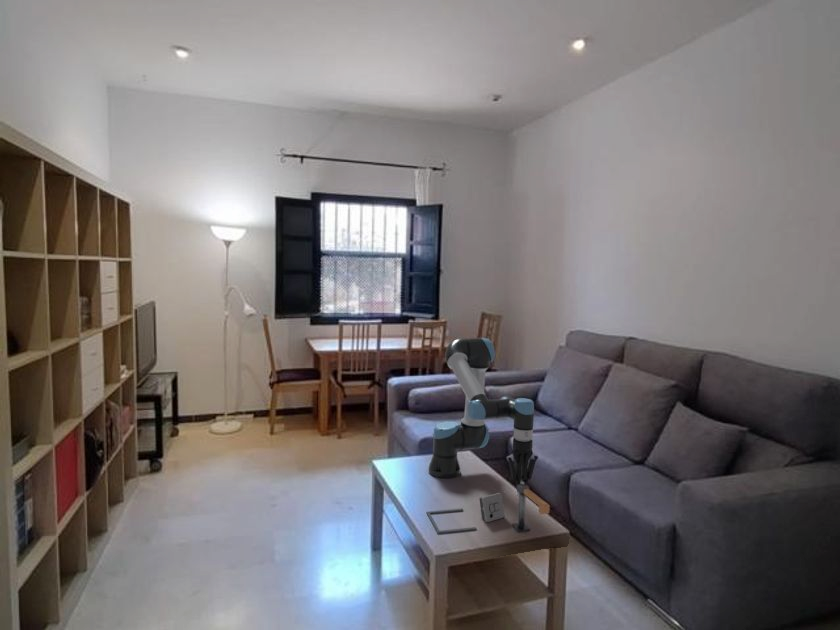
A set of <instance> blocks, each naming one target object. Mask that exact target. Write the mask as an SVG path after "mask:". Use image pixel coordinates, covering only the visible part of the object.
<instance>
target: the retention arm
mask: <svg viewBox="0 0 840 630" xmlns="http://www.w3.org/2000/svg"><path fill="white" fill-rule="evenodd" d="M516 492H519V493H522V494H525V495H526V498H529V500H531V501H532V502H534V503H535V504H536V505H537V506H538V513H539V514H540V515H546V514H550V507H551V506H550V504H549V503H547V502H546V501H545V500H544V499H542V498H541V497H540V496H538V495H537V494H536V493H534V492H533V491H532V490H531V489H530V486H529V485H527V484H526V485H525V484H518V485H517V489H516Z"/></svg>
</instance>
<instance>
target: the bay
mask: <svg viewBox="0 0 840 630" xmlns="http://www.w3.org/2000/svg"><path fill="white" fill-rule="evenodd" d="M455 512H457V513H458V512H464V509H463V508H454V509H453V508H452V509H443V510H442V509H441V510H433V511H431V510H430V511H426V512H425V513H426V515H427V517H428V519H429V521H430V522H432V523H431V524H432V526H433V528H434V530H435V531H436V533H437V535H440V534H441V535H442V534H450V533H451V534H452V533H461V532H471V531H478V530H477V527H476V526H475V527H474V526H473V527H465V528H464V527H463V528H454V529H443V530H440V529H439V526H437V524H436V522H435V520H434V518H433V516H432V515H434V514H437V515H438V514H446V513H455Z"/></svg>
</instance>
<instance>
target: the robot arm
mask: <svg viewBox="0 0 840 630" xmlns="http://www.w3.org/2000/svg"><path fill="white" fill-rule="evenodd" d="M495 352H496V351H495V347H494V344H493V343H492V341H491V340H490V339H489V338H484V337H467V338H464V337H463V338H462V337H461V338H456V339H454V340H452V341H451V342H450V343H449V344H448V346H447V347H446V350H445V354H444V358H445V363H446V365H447V367H448V368H449V369H450V370H452V371H453V373H454V376H455V378H456V379H457V381H458V383H459V385H460V388H461V389H462V391H463V393H464V395H465V400H464V401H465V404H464V417H463V418H461V419H460V424H458V423H457V422H456V421H443V422H440V423H437V424H436V425H435V426H434V428H433V434H432V437H433V439H432V442H433V443H432V457H431V460H430V462H429V466H428V473H429V474H430V475H431V476H432V477H435V478H440V479H452V478H456V477H458V476H459V475H461V465H460V461H459V459H458V451H462V450H463V451H464V450H478V449H481V448H485V446H486V447H487V445H488V442H489V440H490V431H489V430H490V429H489V426H488V425H487V424H486V421H485V420H491V419H504V418H505V419H506V418H507V419H508V418H509V419H511V420H512V421H513V432H512V433H513V436H512V437H513V438H512V451H511V454H510V455H506V456H505V459H506V460H507V463H508V467H509V472H510V477H511V479H512V480H513V481H514V482H515V489H516V490H517V485H518V484H525V485H527V483H528V481H530V480H532V476H533V474H534V473H533V472H534V469H535V465H536V462H537V461H538V459H539V456H538V455H537V454H535V453H533V438H534V437H533V436H534V421H535V420H534V418H535V417H534V416H535V402H534V401H533V400H532V399H530V398H525V397H524V398H523V397H519V398H518V397H517V398H516V399H515V398H513V397H511V396H502V397H501V398H499V399H489V398H488V397H487V395H486V393H485V385H486V371H487V370H488V369H489V368H490V364H491V363H492V362H494V360H495V357H496V353H495ZM514 460H515V463H514ZM516 492H517V491H516ZM516 494H517V495H516V496H517V497H518V498H519V492H517V493H516Z"/></svg>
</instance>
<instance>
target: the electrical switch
mask: <svg viewBox="0 0 840 630" xmlns="http://www.w3.org/2000/svg"><path fill="white" fill-rule="evenodd" d="M478 499H479V505H480V512H481V513H480V514H481V519H482V520H484V522H486V523H489V522H493V521H497V520H500V519H504V518H505V510H504V509H505V508H504V501H503V494H502V493H501V492H497V493H494V494H489V495H485V496H482V497H481V496H480V497H479V498H478Z"/></svg>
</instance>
